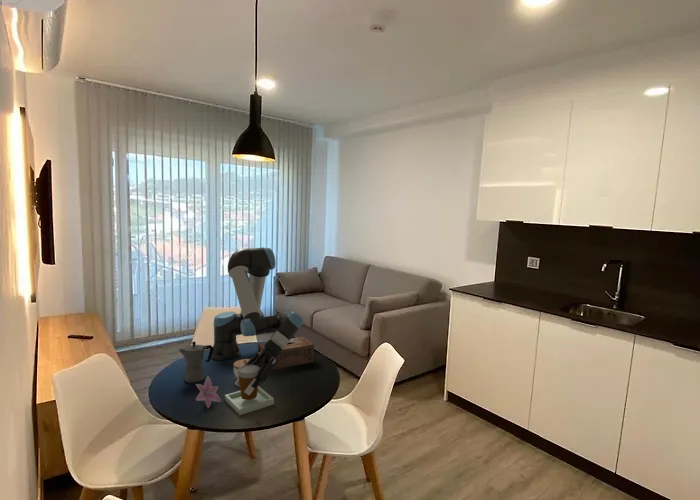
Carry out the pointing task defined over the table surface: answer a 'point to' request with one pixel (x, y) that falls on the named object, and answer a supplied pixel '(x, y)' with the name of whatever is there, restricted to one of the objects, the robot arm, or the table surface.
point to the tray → (249, 401)
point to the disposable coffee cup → (247, 380)
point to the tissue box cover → (293, 353)
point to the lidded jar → (239, 365)
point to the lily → (207, 392)
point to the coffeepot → (195, 361)
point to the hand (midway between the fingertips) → (241, 389)
